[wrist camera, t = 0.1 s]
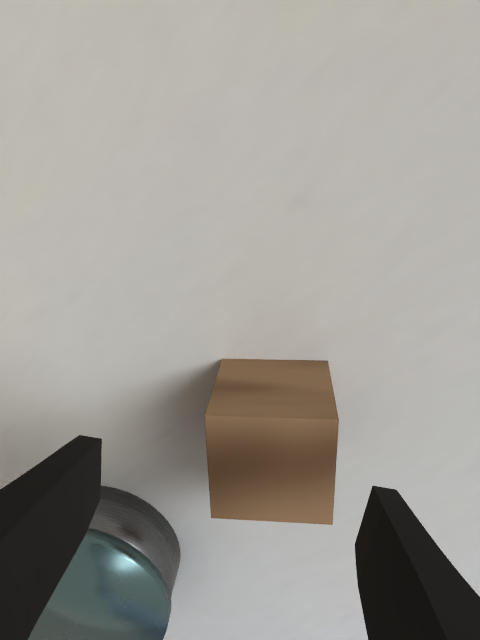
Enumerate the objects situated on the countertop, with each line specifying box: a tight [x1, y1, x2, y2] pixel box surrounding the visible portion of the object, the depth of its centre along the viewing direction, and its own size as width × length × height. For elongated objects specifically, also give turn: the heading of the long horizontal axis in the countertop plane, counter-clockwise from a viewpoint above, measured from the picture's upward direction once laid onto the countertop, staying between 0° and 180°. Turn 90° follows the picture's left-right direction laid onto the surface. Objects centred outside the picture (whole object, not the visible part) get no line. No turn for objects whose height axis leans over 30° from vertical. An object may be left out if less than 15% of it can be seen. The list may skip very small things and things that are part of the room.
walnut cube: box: [205, 359, 339, 525], centre depth 20 cm, size 5×5×5 cm
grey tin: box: [28, 486, 180, 640], centre depth 25 cm, size 9×9×4 cm
